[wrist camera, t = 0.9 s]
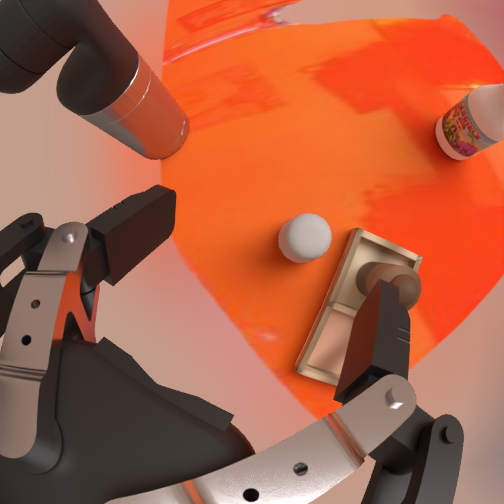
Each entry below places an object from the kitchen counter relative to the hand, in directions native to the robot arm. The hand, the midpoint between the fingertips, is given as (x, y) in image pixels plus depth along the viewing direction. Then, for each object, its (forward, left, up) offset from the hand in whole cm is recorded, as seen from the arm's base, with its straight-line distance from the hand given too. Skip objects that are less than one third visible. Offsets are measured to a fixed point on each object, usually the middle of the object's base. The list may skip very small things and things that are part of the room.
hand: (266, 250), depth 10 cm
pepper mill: (+13, +1, -27) cm, 30 cm away
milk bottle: (+20, +27, -28) cm, 44 cm away
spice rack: (+13, -4, -28) cm, 31 cm away
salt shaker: (+2, +2, -28) cm, 29 cm away
